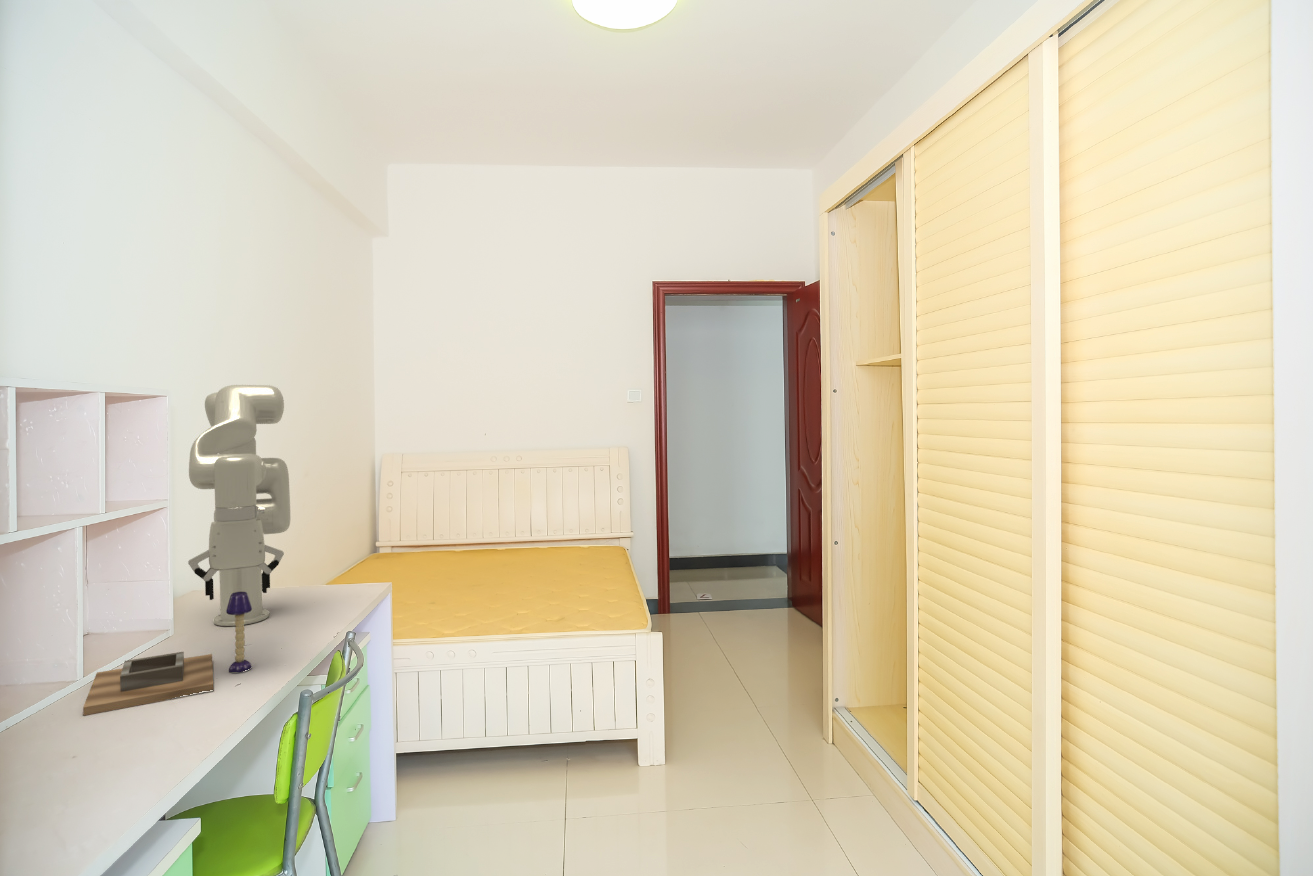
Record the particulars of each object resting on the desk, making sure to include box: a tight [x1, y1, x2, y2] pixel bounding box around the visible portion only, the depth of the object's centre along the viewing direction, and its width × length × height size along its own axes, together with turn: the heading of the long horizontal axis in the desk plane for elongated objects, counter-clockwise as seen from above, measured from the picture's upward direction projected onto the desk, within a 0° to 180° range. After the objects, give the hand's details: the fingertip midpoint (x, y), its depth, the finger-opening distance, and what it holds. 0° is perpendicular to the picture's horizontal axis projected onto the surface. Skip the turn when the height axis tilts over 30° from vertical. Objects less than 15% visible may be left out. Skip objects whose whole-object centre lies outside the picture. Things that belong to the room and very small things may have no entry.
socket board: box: [82, 651, 214, 717], centre depth 141 cm, size 20×20×4 cm
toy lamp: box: [226, 592, 252, 673], centre depth 149 cm, size 5×5×17 cm
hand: (238, 595), depth 148 cm, fingers open, 9 cm apart
